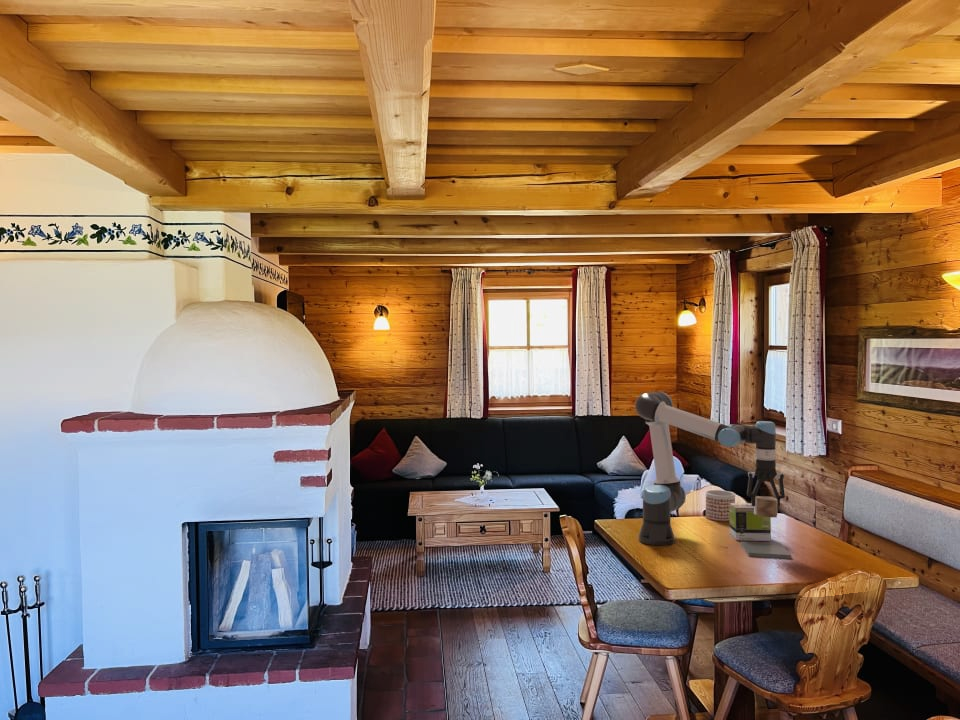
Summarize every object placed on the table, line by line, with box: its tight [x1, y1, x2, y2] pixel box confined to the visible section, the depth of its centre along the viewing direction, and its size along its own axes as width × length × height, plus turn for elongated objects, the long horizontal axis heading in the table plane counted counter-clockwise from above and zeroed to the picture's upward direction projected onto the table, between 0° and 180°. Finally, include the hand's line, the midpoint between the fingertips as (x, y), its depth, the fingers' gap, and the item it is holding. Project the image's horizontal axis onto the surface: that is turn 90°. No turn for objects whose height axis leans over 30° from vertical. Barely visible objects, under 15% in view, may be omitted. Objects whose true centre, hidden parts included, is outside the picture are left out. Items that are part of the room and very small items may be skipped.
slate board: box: [740, 541, 792, 560], centre depth 269 cm, size 16×16×2 cm
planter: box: [705, 489, 736, 523], centre depth 324 cm, size 14×14×13 cm
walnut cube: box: [755, 495, 778, 518], centre depth 269 cm, size 7×7×7 cm
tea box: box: [729, 502, 772, 542], centre depth 289 cm, size 15×10×15 cm
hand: (765, 514), depth 269 cm, fingers closed on walnut cube, 7 cm apart
